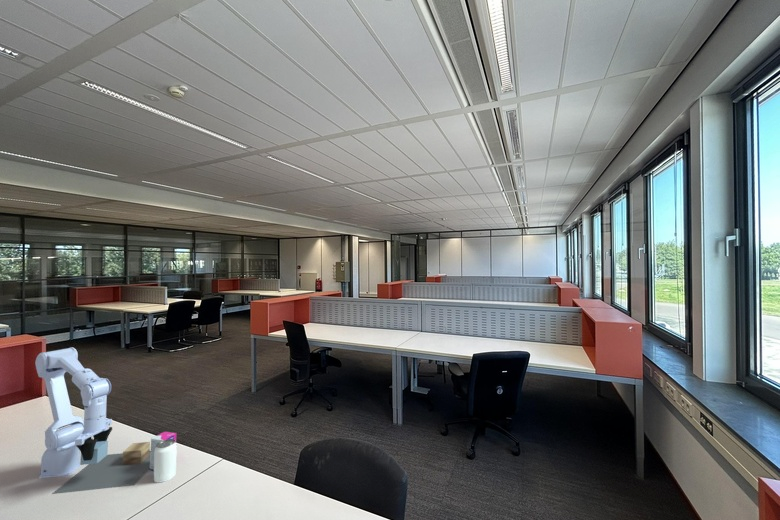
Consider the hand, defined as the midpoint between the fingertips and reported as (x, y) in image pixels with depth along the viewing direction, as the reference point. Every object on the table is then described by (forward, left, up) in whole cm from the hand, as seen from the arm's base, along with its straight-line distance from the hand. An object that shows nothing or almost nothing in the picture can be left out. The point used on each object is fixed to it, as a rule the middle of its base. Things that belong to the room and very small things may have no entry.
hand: (93, 455), depth 111 cm
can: (+24, -3, -9) cm, 26 cm away
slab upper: (+8, +10, -6) cm, 14 cm away
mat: (+4, +5, -9) cm, 11 cm away
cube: (0, 0, -2) cm, 2 cm away
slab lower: (+8, +10, -8) cm, 15 cm away
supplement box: (+20, +4, -9) cm, 22 cm away
